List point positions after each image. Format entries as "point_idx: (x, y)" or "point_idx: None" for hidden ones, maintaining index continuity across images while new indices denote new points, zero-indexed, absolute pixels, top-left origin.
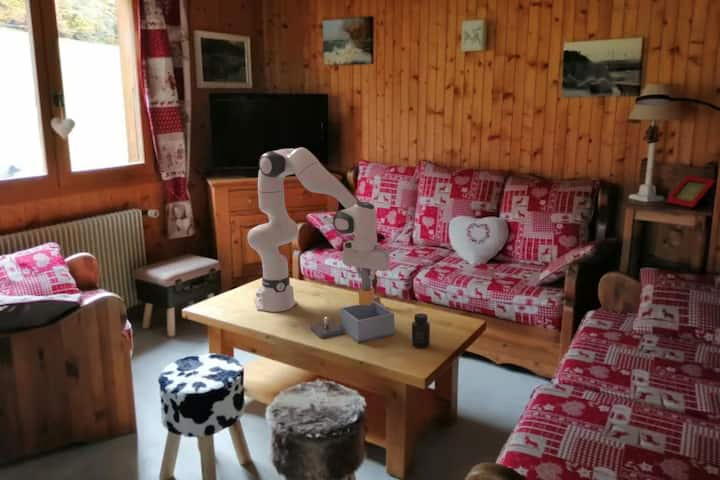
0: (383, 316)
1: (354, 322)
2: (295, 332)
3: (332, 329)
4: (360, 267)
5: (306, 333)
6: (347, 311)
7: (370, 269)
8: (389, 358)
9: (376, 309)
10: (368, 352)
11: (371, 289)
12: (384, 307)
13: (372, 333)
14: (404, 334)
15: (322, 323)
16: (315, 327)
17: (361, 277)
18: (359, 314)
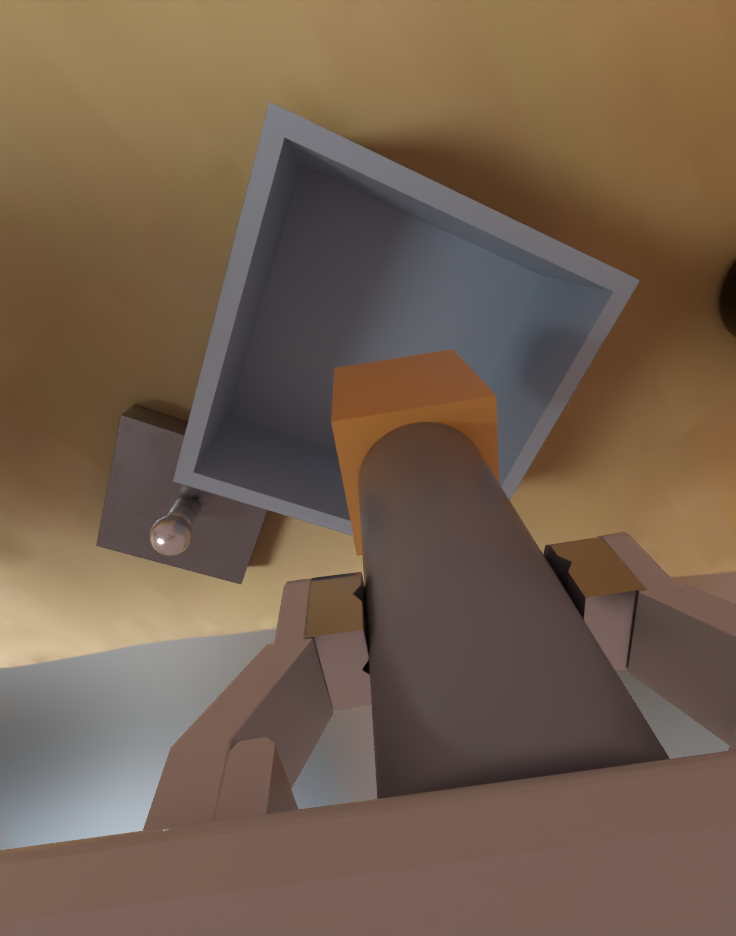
0: (574, 383)
1: None
2: (88, 592)
3: (241, 510)
4: (283, 799)
5: (138, 568)
6: (213, 420)
7: (656, 742)
8: (664, 516)
9: (337, 169)
10: (544, 530)
11: (480, 439)
12: (476, 203)
13: None
14: (610, 207)
15: (119, 488)
16: (146, 548)
17: None
18: (250, 305)
